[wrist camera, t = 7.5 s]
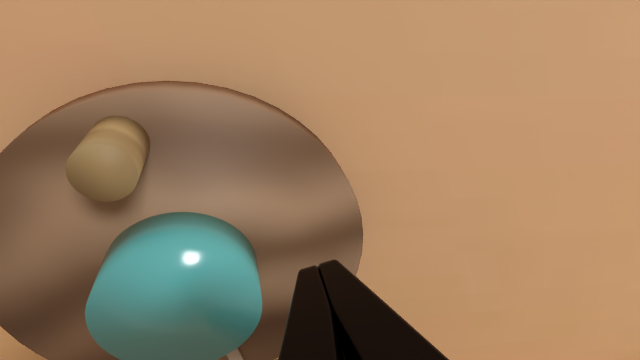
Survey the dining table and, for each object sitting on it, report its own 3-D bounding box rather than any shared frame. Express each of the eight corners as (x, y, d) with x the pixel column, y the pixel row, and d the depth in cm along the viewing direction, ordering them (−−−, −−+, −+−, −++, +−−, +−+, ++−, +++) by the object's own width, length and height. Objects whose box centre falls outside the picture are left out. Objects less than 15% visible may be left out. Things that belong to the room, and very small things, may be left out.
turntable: (373, 309, 28) (397, 364, 24) (103, 398, 26) (83, 471, 23) (322, 33, 18) (350, 52, 14) (-133, 150, 16) (-243, 209, 12)
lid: (274, 297, 23) (280, 338, 21) (145, 339, 23) (135, 387, 20) (230, 192, 19) (231, 227, 17) (70, 240, 18) (46, 285, 16)
